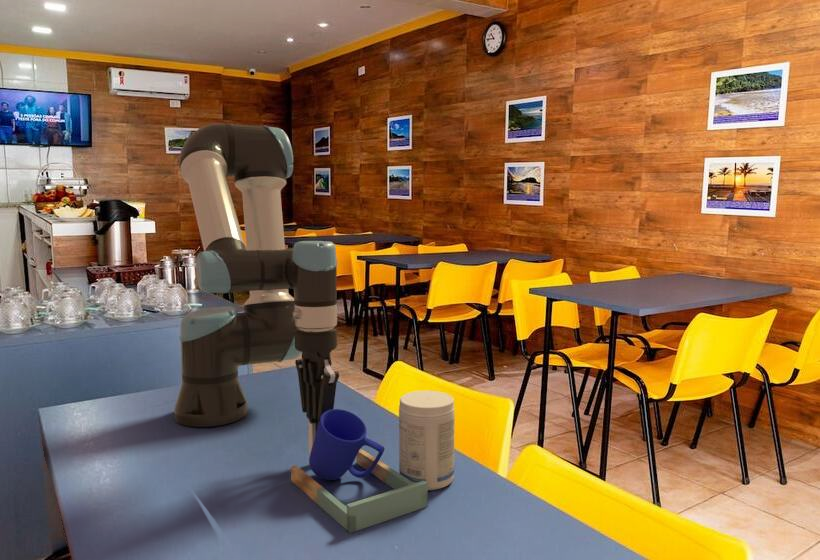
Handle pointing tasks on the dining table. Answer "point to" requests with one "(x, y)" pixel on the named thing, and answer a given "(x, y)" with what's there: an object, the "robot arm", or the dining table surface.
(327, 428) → the mug
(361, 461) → the flange rails
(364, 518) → the pocket
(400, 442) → the supplement tub
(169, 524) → the dining table surface
